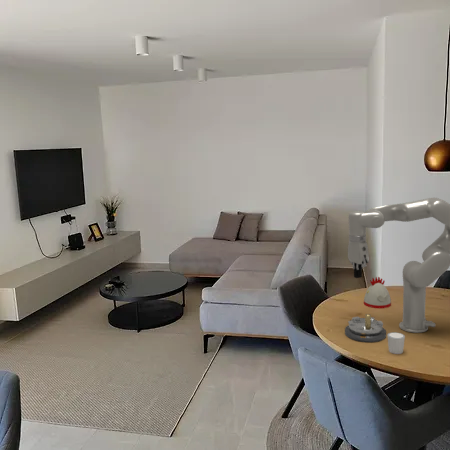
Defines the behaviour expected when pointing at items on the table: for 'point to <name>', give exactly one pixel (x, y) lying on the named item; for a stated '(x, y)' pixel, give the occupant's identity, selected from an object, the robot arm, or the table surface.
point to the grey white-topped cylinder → (396, 342)
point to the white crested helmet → (377, 295)
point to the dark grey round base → (365, 338)
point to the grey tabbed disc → (365, 326)
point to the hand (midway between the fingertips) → (357, 277)
